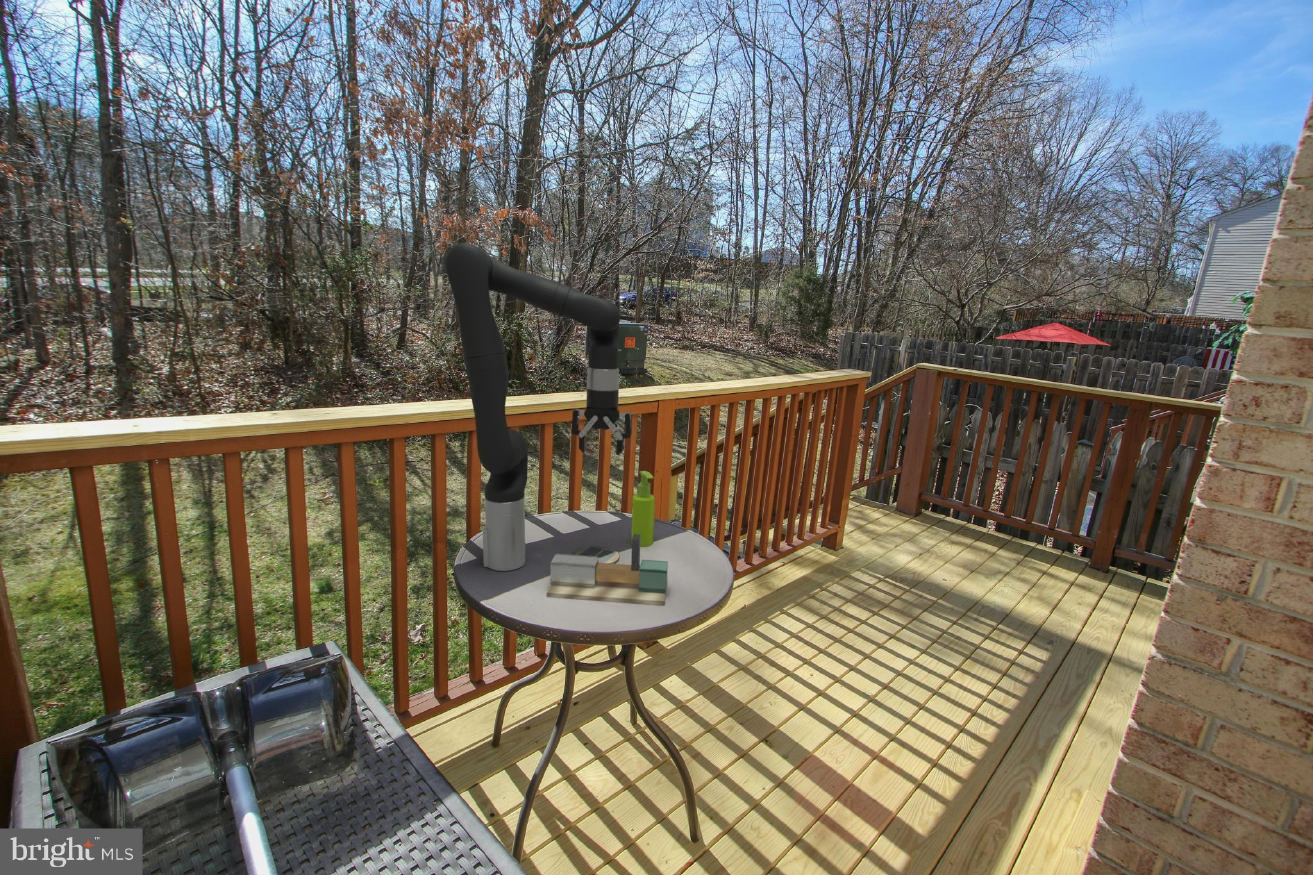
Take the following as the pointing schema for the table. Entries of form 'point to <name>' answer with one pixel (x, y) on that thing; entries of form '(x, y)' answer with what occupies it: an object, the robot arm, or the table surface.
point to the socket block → (653, 576)
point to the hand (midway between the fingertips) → (601, 453)
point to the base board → (609, 593)
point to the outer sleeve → (573, 570)
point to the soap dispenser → (643, 511)
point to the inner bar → (621, 567)
